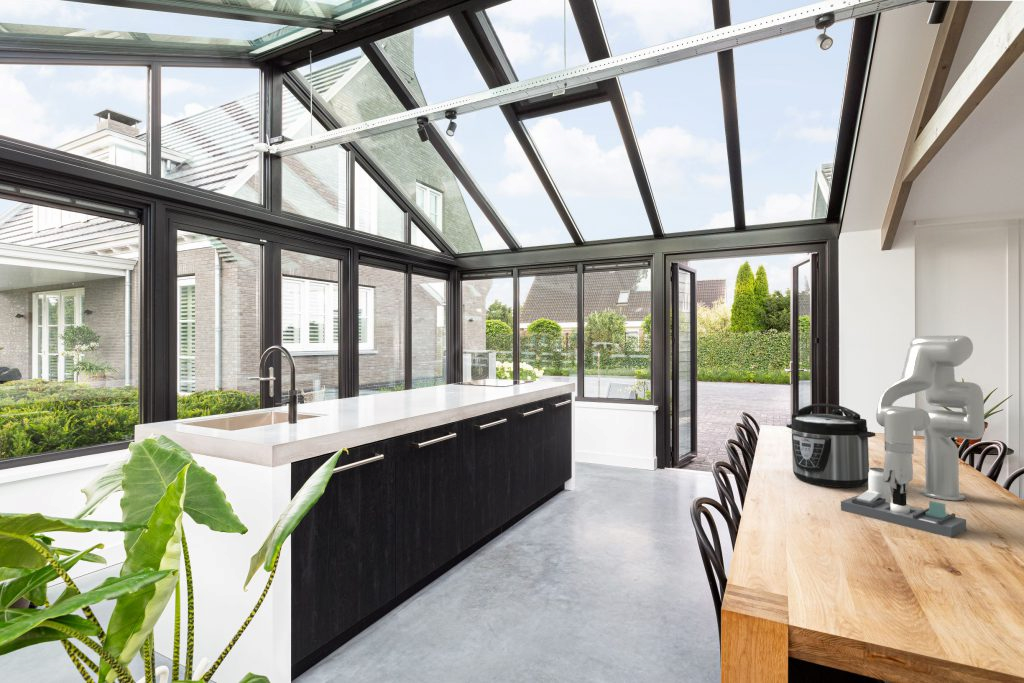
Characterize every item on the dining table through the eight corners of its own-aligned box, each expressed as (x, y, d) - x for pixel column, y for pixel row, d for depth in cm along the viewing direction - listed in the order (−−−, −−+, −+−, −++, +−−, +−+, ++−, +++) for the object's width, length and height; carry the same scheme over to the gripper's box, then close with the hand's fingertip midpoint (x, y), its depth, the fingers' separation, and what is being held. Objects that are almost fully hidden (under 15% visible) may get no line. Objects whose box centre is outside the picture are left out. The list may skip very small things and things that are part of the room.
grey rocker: (867, 493, 178) (867, 489, 178) (880, 496, 174) (880, 492, 174) (856, 501, 174) (856, 497, 173) (870, 504, 170) (869, 500, 170)
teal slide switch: (930, 512, 163) (930, 499, 163) (949, 516, 159) (949, 503, 159) (925, 514, 161) (925, 502, 161) (944, 519, 157) (944, 506, 157)
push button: (894, 512, 170) (894, 501, 170) (912, 517, 166) (912, 504, 166) (887, 515, 167) (887, 503, 167) (905, 520, 163) (905, 507, 163)
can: (894, 506, 179) (894, 472, 179) (874, 505, 180) (873, 471, 180) (885, 500, 185) (884, 467, 185) (865, 500, 186) (864, 466, 186)
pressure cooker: (776, 471, 228) (775, 400, 228) (841, 471, 227) (840, 399, 227) (812, 491, 198) (811, 408, 198) (888, 491, 197) (886, 408, 197)
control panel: (857, 503, 182) (857, 492, 182) (966, 529, 157) (966, 515, 157) (840, 510, 176) (840, 497, 176) (951, 537, 150) (951, 523, 150)
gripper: (895, 443, 173) (896, 497, 173) (875, 448, 165) (875, 505, 165) (922, 447, 167) (923, 503, 167) (902, 452, 159) (903, 511, 159)
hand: (899, 504), depth 166 cm, fingers closed
